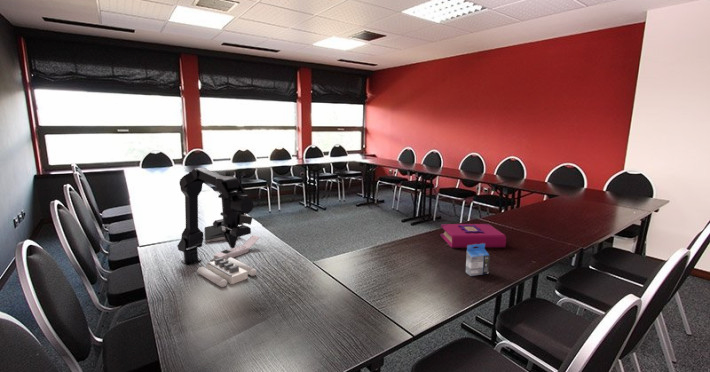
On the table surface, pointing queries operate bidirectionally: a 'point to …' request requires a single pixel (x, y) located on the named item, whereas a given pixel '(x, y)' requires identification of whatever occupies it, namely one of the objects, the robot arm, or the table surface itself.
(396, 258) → the table surface
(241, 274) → the breaker strip
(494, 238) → the book
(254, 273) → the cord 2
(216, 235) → the wireless router
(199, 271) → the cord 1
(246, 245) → the mobile phone
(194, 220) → the robot arm
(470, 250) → the label tape box
